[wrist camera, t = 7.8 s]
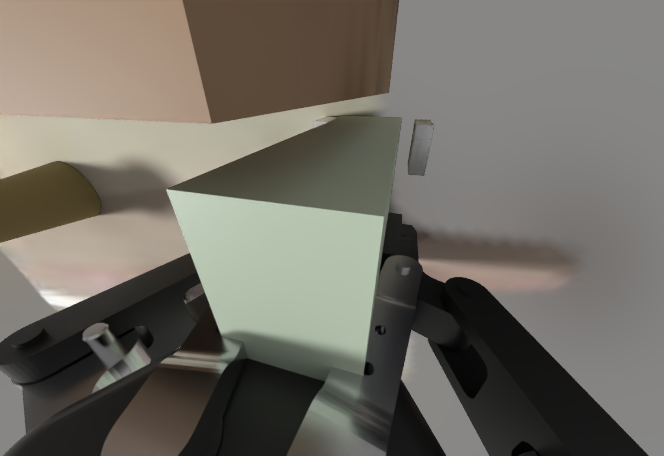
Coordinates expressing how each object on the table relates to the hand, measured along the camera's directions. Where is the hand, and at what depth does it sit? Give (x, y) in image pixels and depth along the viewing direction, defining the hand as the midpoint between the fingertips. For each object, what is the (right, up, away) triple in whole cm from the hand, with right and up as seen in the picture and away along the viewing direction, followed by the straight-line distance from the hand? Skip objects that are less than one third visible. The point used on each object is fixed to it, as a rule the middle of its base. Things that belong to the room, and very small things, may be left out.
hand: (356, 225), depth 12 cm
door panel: (+1, +1, +2) cm, 3 cm away
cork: (-28, +4, +12) cm, 31 cm away
